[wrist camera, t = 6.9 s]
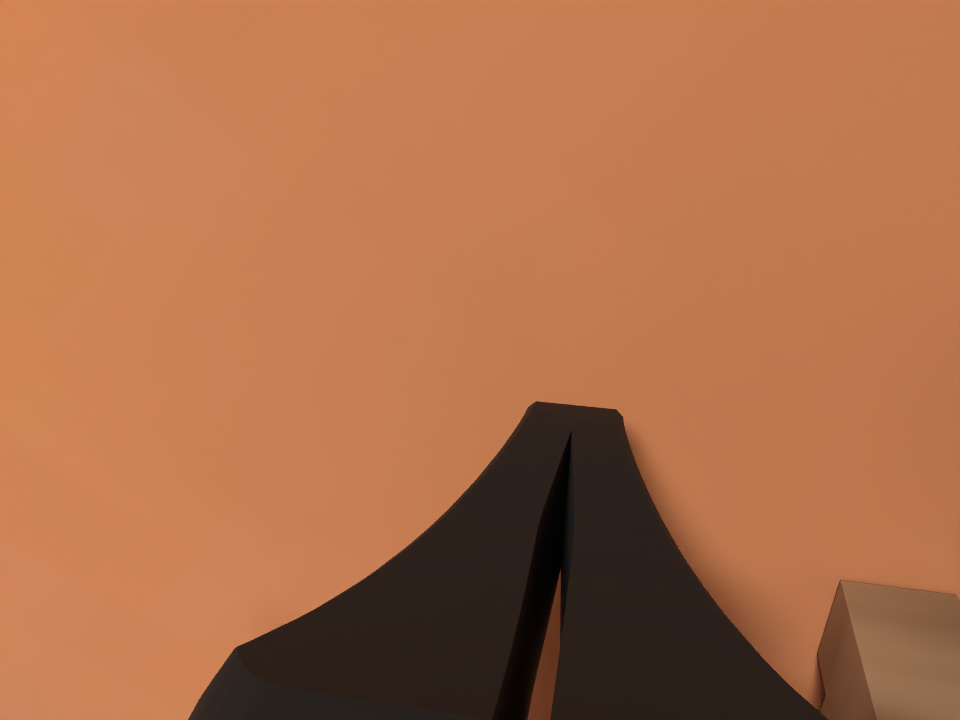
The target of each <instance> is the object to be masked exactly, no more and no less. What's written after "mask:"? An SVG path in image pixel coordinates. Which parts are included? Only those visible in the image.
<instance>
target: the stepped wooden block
mask: <svg viewBox="0 0 960 720" xmlns="http://www.w3.org/2000/svg"><path fill="white" fill-rule="evenodd" d="M817 655H818V660H819V664H820V669H821V674H822V679H823V684H824V689H825V693H826V696H825V699H824V702H823V705H822V708H821V711H820V713H821V714H823V715H824V716H825V717H826V718H827V719H828V720H960V602H959V599H958V597H957V595H953V594H945V593H937V592H929V591H921V590H913V589H905V588H897V587H889V586H881V585H873V584H865V583H857V582H850V581H842V580H841V581H840V584H839V587H838V590H837V593H836V596H835V599H834V603H833V606H832V609H831V612H830V615H829V618H828V622H827V625H826V628H825V631H824V634H823V637H822V641H821V644H820V647H819V650H818V653H817Z"/></svg>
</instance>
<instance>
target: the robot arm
mask: <svg viewBox="0 0 960 720" xmlns="http://www.w3.org/2000/svg"><path fill="white" fill-rule="evenodd" d="M560 569H561V612H560V654H559V662H558V669H557V677H556V684H555V692H554V699H553V707H552V714H551V720H828V719H827V718H826V717H825V716H824V715H823V714H821V713H820V712H819V711H818V710H817V709H816V708H815V707H813V706H812V705H811V704H810V703H809V702H808V701H807V700H805V699H804V698H803V697H802V696H801V695H800V694H798V693H797V692H796V691H795V690H794V689H793V688H792V687H791V686H790V685H789V684H788V683H787V682H786V681H785V680H784V679H783V678H782V677H781V676H780V675H779V674H778V673H777V672H776V671H775V670H774V669H773V668H772V667H771V666H770V665H769V664H768V663H767V662H766V661H765V660H764V659H763V658H762V657H761V656H760V654H759V653H758V652H757V651H756V650H755V649H754V648H753V646H752V645H751V644H750V643H749V642H748V641H747V640H746V638H745V637H744V636H743V635H742V634H741V633H740V632H739V630H738V629H737V628H736V627H735V626H734V625H733V623H732V622H731V621H730V620H729V619H728V618H727V617H726V615H725V614H724V613H723V612H722V610H721V609H720V608H719V606H718V605H717V604H716V602H715V601H714V600H713V598H712V597H711V596H710V594H709V593H708V592H707V590H706V589H705V588H704V586H703V585H702V583H701V582H700V581H699V579H698V578H697V576H696V575H695V573H694V572H693V570H692V569H691V567H690V566H689V565H688V563H687V561H686V560H685V558H684V557H683V555H682V554H681V552H680V550H679V549H678V547H677V545H676V544H675V542H674V540H673V539H672V537H671V535H670V533H669V531H668V530H667V528H666V526H665V524H664V522H663V521H662V519H661V517H660V515H659V513H658V511H657V509H656V507H655V505H654V503H653V501H652V499H651V497H650V495H649V492H648V490H647V488H646V486H645V484H644V481H643V479H642V477H641V475H640V472H639V470H638V467H637V465H636V462H635V460H634V457H633V454H632V451H631V449H630V445H629V442H628V439H627V435H626V432H625V427H624V422H623V416H622V415H621V414H620V413H619V412H618V411H617V410H616V409H606V408H596V407H586V406H576V405H567V404H557V403H547V402H537V401H536V402H535V403H533V404H532V405H530V406H529V407H528V409H527V411H526V412H525V414H524V416H523V418H522V419H521V421H520V423H519V424H518V426H517V427H516V429H515V430H514V432H513V433H512V435H511V436H510V438H509V439H508V440H507V442H506V443H505V444H504V446H503V447H502V449H501V450H500V451H499V452H498V454H497V455H496V456H495V457H494V459H493V460H492V461H491V462H490V464H489V465H488V466H487V467H486V469H485V470H484V471H483V472H482V474H481V475H480V476H479V477H478V478H477V479H476V480H475V482H474V483H473V484H472V485H471V486H470V487H469V488H468V489H467V490H466V491H465V492H464V493H463V494H462V496H461V497H460V498H459V499H458V500H457V501H456V502H455V503H454V504H453V505H452V506H451V507H450V508H449V509H448V510H447V511H446V512H445V513H444V514H443V515H442V516H441V517H440V518H439V519H438V520H437V521H436V522H435V523H434V524H433V525H432V526H430V527H429V528H428V529H427V530H426V531H425V532H424V533H423V534H421V535H420V536H419V537H418V538H417V539H416V540H414V541H413V542H412V543H411V544H410V545H409V546H407V547H406V548H405V549H403V550H402V551H401V552H400V553H398V554H397V555H396V556H394V557H393V558H392V559H390V560H389V561H388V562H387V563H385V564H384V565H383V566H381V567H380V568H379V569H377V570H376V571H375V572H373V573H372V574H370V575H369V576H367V577H366V578H365V579H363V580H362V581H360V582H359V583H357V584H356V585H354V586H352V587H351V588H349V589H347V590H346V591H344V592H343V593H341V594H339V595H338V596H336V597H334V598H333V599H331V600H329V601H328V602H326V603H325V604H323V605H321V606H320V607H318V608H316V609H314V610H313V611H311V612H309V613H307V614H305V615H303V616H301V617H299V618H297V619H295V620H293V621H291V622H289V623H287V624H285V625H283V626H281V627H279V628H277V629H274V630H272V631H270V632H268V633H266V634H264V635H262V636H260V637H258V638H256V639H254V640H251V641H249V642H247V643H245V644H242V645H240V646H238V647H236V648H235V649H234V650H233V652H232V653H231V654H230V656H229V657H228V659H227V660H226V662H225V663H224V664H223V666H222V667H221V669H220V670H219V671H218V673H217V674H216V676H215V677H214V678H213V680H212V681H211V683H210V684H209V686H208V687H207V689H206V690H205V691H204V693H203V694H202V696H201V698H200V699H199V701H198V703H197V705H196V706H195V708H194V710H193V712H192V714H191V716H190V717H189V719H188V720H527V718H528V713H529V707H530V702H531V696H532V691H533V687H534V682H535V678H536V674H537V669H538V665H539V661H540V656H541V652H542V648H543V643H544V639H545V635H546V630H547V626H548V622H549V617H550V613H551V609H552V604H553V600H554V596H555V591H556V587H557V582H558V578H559V574H560Z"/></svg>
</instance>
